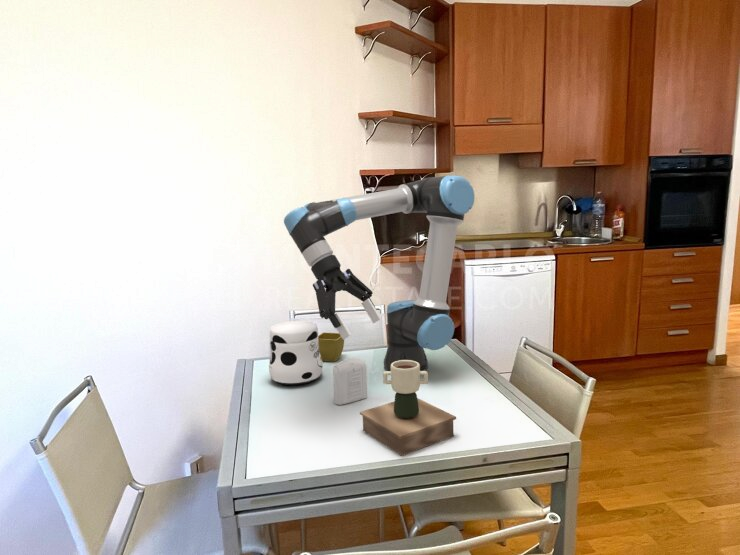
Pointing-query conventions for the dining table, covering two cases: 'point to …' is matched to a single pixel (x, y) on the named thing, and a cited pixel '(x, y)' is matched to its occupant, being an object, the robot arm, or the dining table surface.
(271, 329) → the milk container
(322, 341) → the flower pot
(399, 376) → the character mug
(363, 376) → the photo printer
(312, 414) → the dining table surface
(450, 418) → the walnut stand
